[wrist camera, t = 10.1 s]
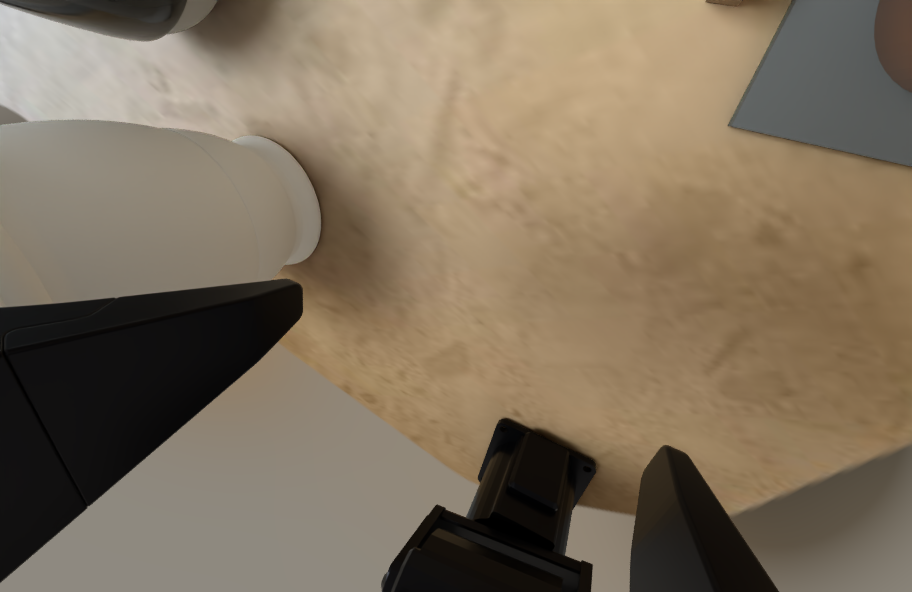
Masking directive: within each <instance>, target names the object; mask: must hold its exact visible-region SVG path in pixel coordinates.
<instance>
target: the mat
mask: <svg viewBox="0 0 912 592" xmlns="http://www.w3.org/2000/svg"><path fill="white" fill-rule="evenodd" d="M879 1H880V0H792V2H791V4H790V6H789V8H788V10H787V12H786V14H785V16H784V18H783V20H782V21H781V23H780V25H779V27H778V29H777V31H776V33H775V35H774V37H773V39H772V41H771V43H770V45H769V47H768V49H767V51H766V53H765V54H764V56H763V58H762V60H761V62H760V64H759V66H758V68H757V70H756V72H755V74H754V76H753V78H752V80H751V82H750V84H749V86H748V87H747V89H746V91H745V93H744V95H743V97H742V99H741V101H740V103H739V105H738V107H737V109H736V111H735V113H734V115H733V117H732V118H731V120H730V122H729V124H728V126H731V127H736V128H740V129H745V130H749V131H754V132H758V133H763V134H767V135H772V136H776V137H781V138H785V139H790V140H794V141H799V142H803V143H808V144H812V145H817V146H821V147H826V148H830V149H835V150H839V151H844V152H848V153H853V154H857V155H862V156H866V157H871V158H875V159H880V160H884V161H889V162H893V163H898V164H902V165H907V166H911V167H912V93H911V92H909V91H907V90H905V89H903V88H902V87H901V86H900V85H898V84H897V83H896V82H894V81H893V80H892V78H891V77H890V76H889V75H888V74H887V73H886V72H885V70H884V68H883V66H882V64H881V63H880V61H879V58H878V55H877V52H876V48H875V39H874V26H875V17H876V13H877V8H878V4H879Z"/></svg>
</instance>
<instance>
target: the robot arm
mask: <svg viewBox="0 0 912 592" xmlns="http://www.w3.org/2000/svg"><path fill="white" fill-rule="evenodd" d="M302 313H303V288H302V286H301V285H300V284H299V283H297V282H294V281H292V280H290V279H278V280H269V281H260V282H251V283H242V284H232V285H223V286H214V287H205V288H196V289H187V290H178V291H168V292H159V293H150V294H141V295H132V296H123V297H118V298H114V297H113V298H104V299H95V300H85V301H75V302H65V303H52V304H40V305H27V306H13V307H0V583H1V582H2V581H3V580H4V579H5V578H7V577H8V576H9V575H10V574H11V573H12V572H13V571H15V570H16V569H17V568H18V567H19V566H20V565H22V564H23V563H24V562H25V561H26V560H28V559H29V558H30V557H31V556H32V555H33V554H35V553H36V552H37V551H38V550H39V549H40V548H42V547H43V546H44V545H45V544H46V543H47V542H49V541H50V540H51V539H52V538H53V537H54V536H56V535H57V534H58V533H59V532H60V531H61V530H63V529H64V528H65V527H66V526H67V525H68V524H70V523H71V522H72V521H73V520H74V519H75V518H77V517H78V516H79V515H80V514H81V513H82V512H84V511H85V510H86V509H87V507H88V506H90V505H91V504H93V503H94V502H95V501H96V500H97V499H98V498H99V497H101V496H102V495H103V494H104V493H105V492H107V491H108V490H109V489H110V488H111V487H112V486H113V485H115V484H116V483H117V482H118V481H119V480H121V479H122V478H123V477H124V476H125V475H126V474H128V473H129V472H130V471H131V470H132V469H133V468H135V467H136V466H137V465H138V464H139V463H140V462H142V461H143V460H144V459H145V458H146V457H147V456H149V455H150V454H151V453H152V452H153V451H155V450H156V449H157V448H158V447H159V446H160V445H162V444H163V443H164V442H165V441H166V440H167V439H169V438H170V437H171V436H172V435H173V434H174V433H176V432H177V431H178V430H179V429H180V428H181V427H182V426H184V425H185V424H186V423H187V422H188V421H190V420H191V419H192V418H193V417H194V416H195V415H197V414H198V413H199V412H200V411H201V410H202V409H204V408H205V407H206V406H207V405H208V404H209V403H211V402H212V401H213V400H214V399H215V398H216V397H218V396H219V395H220V394H221V393H222V392H223V391H225V390H226V389H227V388H228V387H229V386H231V385H232V384H233V383H234V382H235V381H236V380H237V379H239V378H240V377H241V376H242V375H243V374H245V373H246V372H247V371H248V370H249V369H250V368H252V367H253V366H254V365H255V364H256V363H257V362H258V361H259V360H260V359H261V358H262V357H263V356H264V355H265V354H266V353H267V352H268V351H269V350H270V349H271V348H272V347H273V346H274V345H275V344H276V343H277V342H278V341H279V340H280V339H281V338H282V337H283V336H284V335H285V334H286V333H287V332H288V331H289V330H290V329H291V328H292V327H293V325H294V324H295V323H296V322H297V321H298V320H299V319H300V318H301V316H302ZM503 426H504V427H506V428H504V427H503ZM586 466H588V467H586ZM595 473H596V463H595V462H594V461H593V460H591V459H589V458H587V457H585V456H583V455H581V454H579V453H577V452H574V451H572V450H570V449H568V448H566V447H564V446H562V445H560V444H557V443H555V442H553V441H551V440H549V439H547V438H545V437H542V436H540V435H538V434H536V433H534V432H532V431H530V430H528V429H525V428H523V427H521V426H519V425H517V424H515V423H513V422H511V421H508V420H506V419H501V420H499V421H498V423H497V426H496V428H495V431H494V434H493V437H492V439H491V442H490V445H489V448H488V450H487V453H486V456H485V459H484V461H483V464H482V467H481V470H480V472H479V475H478V480H479V482H480V485H479V488H478V490H477V492H476V495H475V497H474V500H473V502H472V504H471V507H470V509H469V512H468V514H467V516H466V517H463V516H461V515H458V514H456V513H453V512H450V511H448V510H446V508H445V507H442V506H440V505H436V506H435V507H434V508H433V510H432V511H431V512H430V514H429V515H427V516H426V518H425V519H424V520H423V522H422V523H421V525H420V526H419V527H418V529H417V530H416V531H415V533H414V534H413V535H412V537H411V538H410V539H409V541H408V542H407V543H406V545H405V546H404V548H403V549H402V550H401V551H400V553H399V554H398V555H397V557H396V558H395V559H394V561H393V562H392V564H391V565H390V567H389V570H388V572H387V573H386V574H385V575H384V577H383V580H382V583H381V588H382V592H591V582H592V567H593V565H592V564H590V563H588V562H585V561H583V560H582V561H581V562H580V561H577V560H574V559H572V558H569V557H567V556H565V552H566V546H567V540H568V533H569V527H570V521H571V515H572V510H573V508H574V507H575V505H576V504H577V502H578V500H579V499H580V497H581V496H582V494H583V492H584V491H585V489H586V488H587V486H588V484H589V483H590V481H591V479H592V478H593V476H594V475H595ZM630 592H779V591H778V589H777V588H776V586H775V585H774V583H773V582H772V580H771V579H770V577H769V576H768V574H767V573H766V571H765V570H764V568H763V567H762V565H761V564H760V562H759V561H758V559H757V558H756V556H755V555H754V553H753V552H752V550H751V549H750V547H749V546H748V545H747V543H746V542H745V540H744V538H743V537H742V535H741V534H740V532H739V531H738V529H737V528H736V526H735V525H734V523H733V522H732V520H731V519H730V517H729V516H728V514H727V513H726V511H725V510H724V508H723V507H722V505H721V504H720V502H719V501H718V499H717V498H716V496H715V495H714V493H713V492H712V490H711V489H710V487H709V486H708V484H707V483H706V481H705V480H704V478H703V477H702V475H701V474H700V472H699V471H698V469H697V468H696V466H695V465H694V463H693V462H692V460H691V459H690V457H689V456H688V455H687V454H686V453H684V452H682V451H680V450H678V449H675V448H673V447H671V446H669V445H664V446H662V447H661V448H660V449H659V450H658V452H657V453H656V455H655V456H654V457H653V459H652V460H651V461H650V463H649V464H648V465H647V467H646V468H645V470H644V472H643V475H642V478H641V484H640V491H639V498H638V505H637V512H636V520H635V526H634V533H633V540H632V548H631V562H630Z"/></svg>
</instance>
